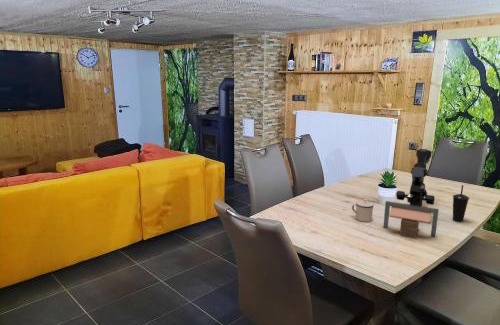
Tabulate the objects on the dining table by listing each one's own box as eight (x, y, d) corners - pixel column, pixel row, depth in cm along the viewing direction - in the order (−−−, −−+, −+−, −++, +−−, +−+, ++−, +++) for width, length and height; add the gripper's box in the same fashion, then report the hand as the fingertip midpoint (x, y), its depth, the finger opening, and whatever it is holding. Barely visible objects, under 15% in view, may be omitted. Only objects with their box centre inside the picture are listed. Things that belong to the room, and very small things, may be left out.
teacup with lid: (375, 219, 194) (377, 199, 191) (367, 223, 188) (368, 203, 185) (355, 213, 202) (357, 194, 200) (347, 217, 196) (348, 197, 194)
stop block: (403, 225, 185) (405, 211, 183) (418, 228, 182) (419, 214, 180) (399, 235, 173) (401, 220, 172) (415, 238, 170) (416, 223, 168)
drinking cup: (460, 224, 186) (465, 188, 182) (446, 219, 193) (451, 184, 188) (469, 221, 190) (474, 186, 185) (455, 216, 196) (460, 182, 192)
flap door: (389, 216, 176) (391, 207, 179) (429, 223, 167) (430, 214, 170) (389, 215, 175) (391, 206, 178) (429, 222, 166) (431, 212, 170)
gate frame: (384, 226, 184) (386, 201, 181) (435, 235, 172) (438, 209, 169) (383, 227, 182) (385, 202, 179) (435, 237, 170) (438, 210, 167)
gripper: (398, 176, 193) (393, 202, 186) (436, 181, 184) (432, 208, 177) (399, 186, 201) (394, 210, 195) (435, 191, 192) (432, 217, 185)
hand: (412, 211), depth 188 cm, fingers closed
